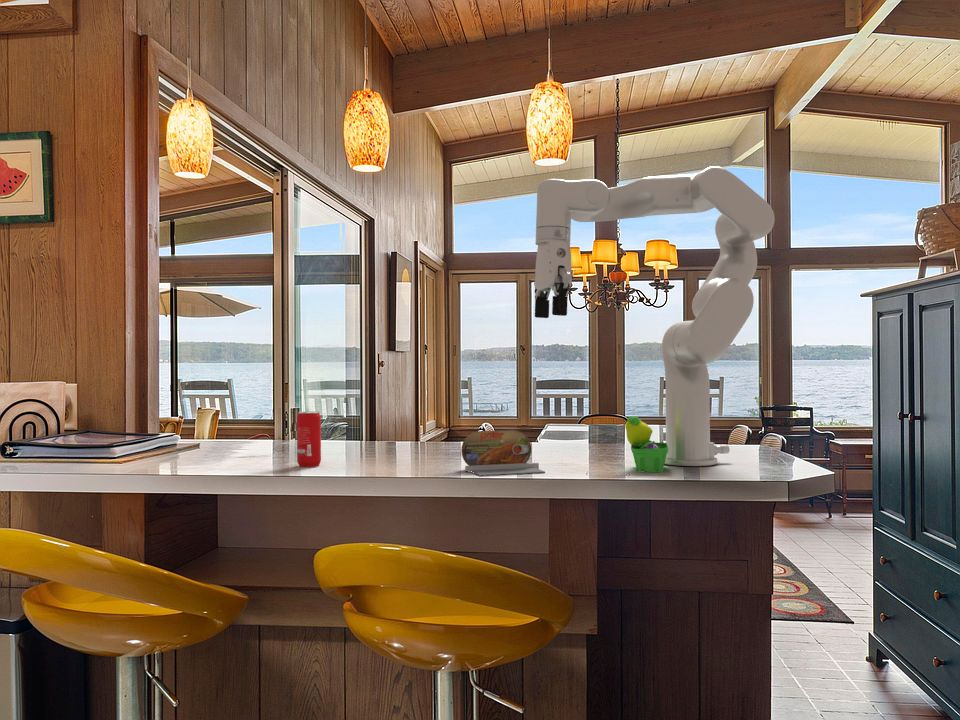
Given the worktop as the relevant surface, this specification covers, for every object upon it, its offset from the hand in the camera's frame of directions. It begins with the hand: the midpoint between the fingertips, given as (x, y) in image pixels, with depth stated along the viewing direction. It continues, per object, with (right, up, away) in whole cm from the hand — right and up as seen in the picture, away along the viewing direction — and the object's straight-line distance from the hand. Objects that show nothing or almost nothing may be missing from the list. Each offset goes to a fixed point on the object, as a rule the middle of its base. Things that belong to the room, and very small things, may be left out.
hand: (550, 316), depth 167 cm
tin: (-12, -33, -2) cm, 35 cm away
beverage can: (-53, -33, +4) cm, 63 cm away
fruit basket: (+20, -33, -4) cm, 39 cm away
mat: (-10, -33, -7) cm, 35 cm away
